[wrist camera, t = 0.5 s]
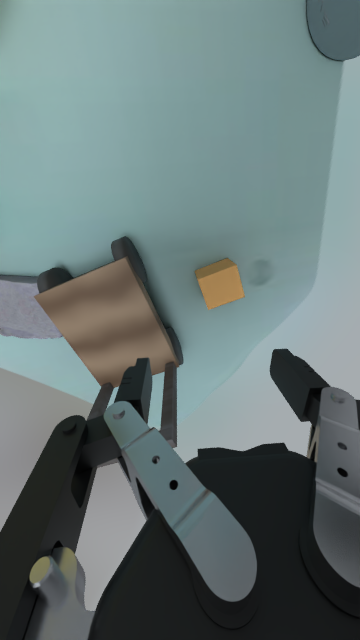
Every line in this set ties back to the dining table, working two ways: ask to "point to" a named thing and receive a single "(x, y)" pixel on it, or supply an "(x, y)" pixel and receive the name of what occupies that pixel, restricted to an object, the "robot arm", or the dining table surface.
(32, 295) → the stone block
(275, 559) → the robot arm
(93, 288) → the trolley
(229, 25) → the dining table surface
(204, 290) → the block
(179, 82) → the dining table surface
